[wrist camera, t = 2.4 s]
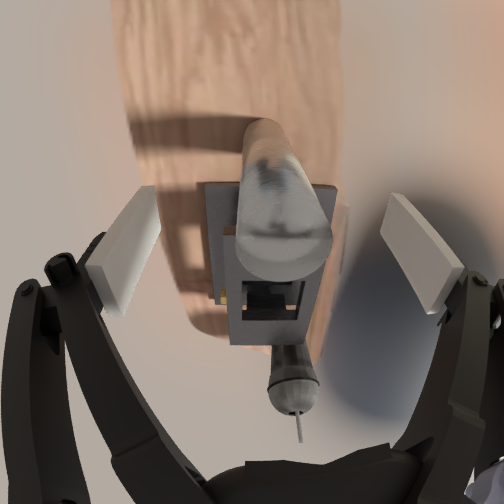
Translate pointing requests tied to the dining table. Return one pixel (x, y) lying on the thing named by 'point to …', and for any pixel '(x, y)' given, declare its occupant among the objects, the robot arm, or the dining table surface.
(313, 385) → the beverage cup
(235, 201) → the grey holder stand
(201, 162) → the dining table surface
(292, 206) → the silver metal cylinder
